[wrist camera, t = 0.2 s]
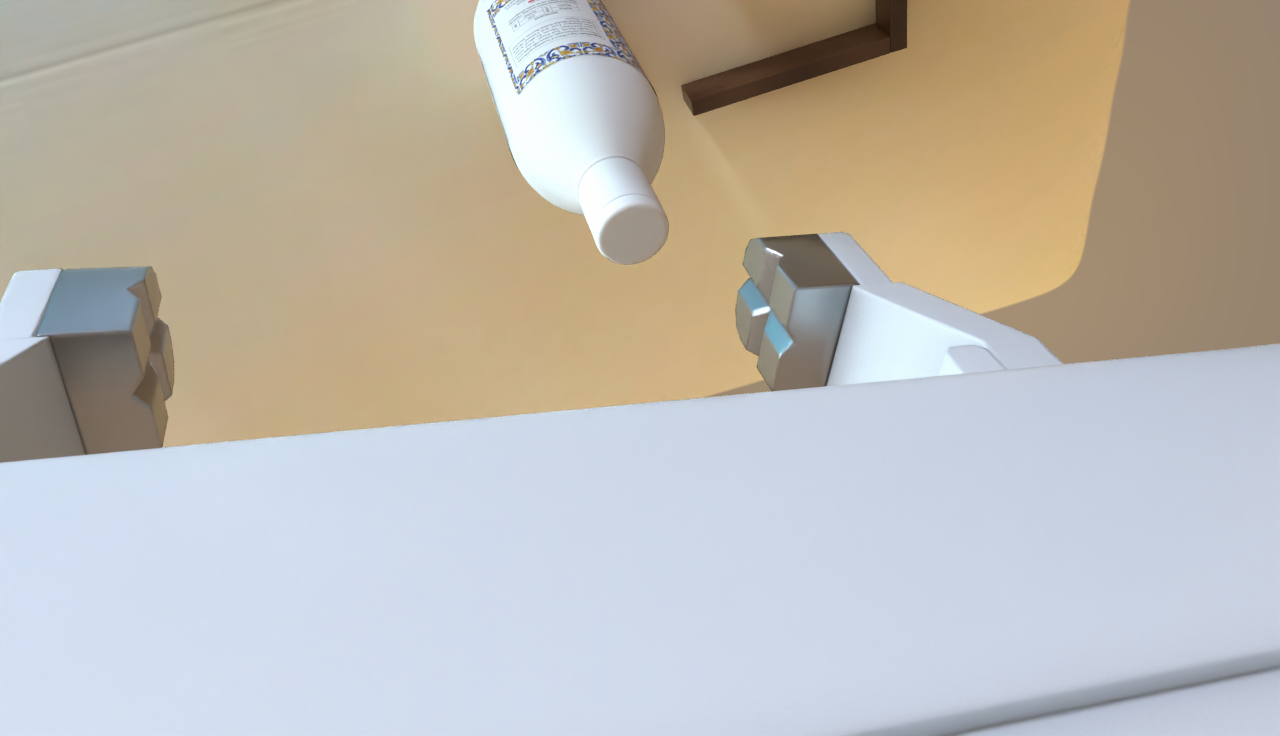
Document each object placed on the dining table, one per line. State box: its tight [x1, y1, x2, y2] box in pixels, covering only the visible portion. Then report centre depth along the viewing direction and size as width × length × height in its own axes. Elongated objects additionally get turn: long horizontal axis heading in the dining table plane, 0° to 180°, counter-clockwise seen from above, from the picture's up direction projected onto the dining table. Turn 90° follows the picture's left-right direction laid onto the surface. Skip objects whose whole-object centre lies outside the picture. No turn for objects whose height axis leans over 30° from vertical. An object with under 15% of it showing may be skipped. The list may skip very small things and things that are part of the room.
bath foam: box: [474, 0, 669, 265], centre depth 44 cm, size 7×7×20 cm
